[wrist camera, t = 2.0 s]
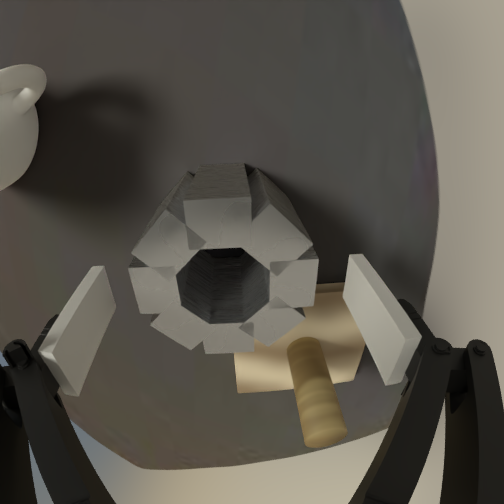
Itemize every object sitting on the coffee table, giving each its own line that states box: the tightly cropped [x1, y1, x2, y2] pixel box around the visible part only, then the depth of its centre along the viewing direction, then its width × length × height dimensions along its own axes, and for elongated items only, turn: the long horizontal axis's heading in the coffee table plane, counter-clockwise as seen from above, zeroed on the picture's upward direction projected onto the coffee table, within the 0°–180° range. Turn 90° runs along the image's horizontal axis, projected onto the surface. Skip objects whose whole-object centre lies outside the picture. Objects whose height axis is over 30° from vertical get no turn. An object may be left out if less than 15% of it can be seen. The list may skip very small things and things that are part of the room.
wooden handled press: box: [234, 282, 366, 448], centre depth 22 cm, size 12×12×10 cm
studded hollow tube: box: [128, 163, 319, 354], centre depth 17 cm, size 9×9×7 cm
